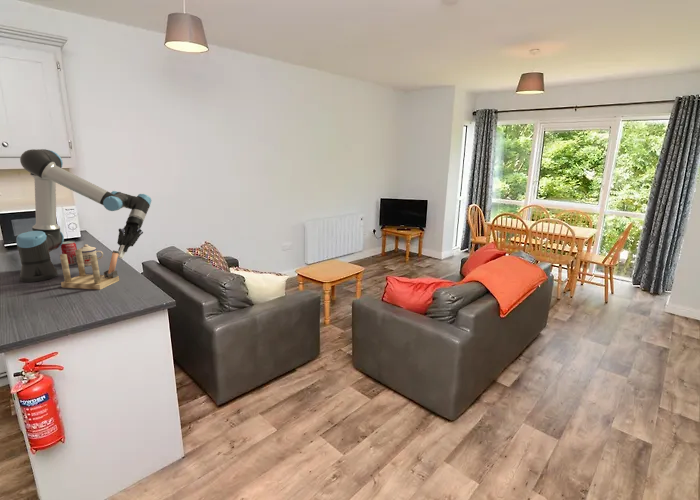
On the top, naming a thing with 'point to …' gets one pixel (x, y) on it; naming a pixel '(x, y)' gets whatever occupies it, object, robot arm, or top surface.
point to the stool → (86, 279)
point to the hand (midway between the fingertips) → (119, 257)
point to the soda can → (69, 251)
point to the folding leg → (112, 263)
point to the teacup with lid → (89, 254)
